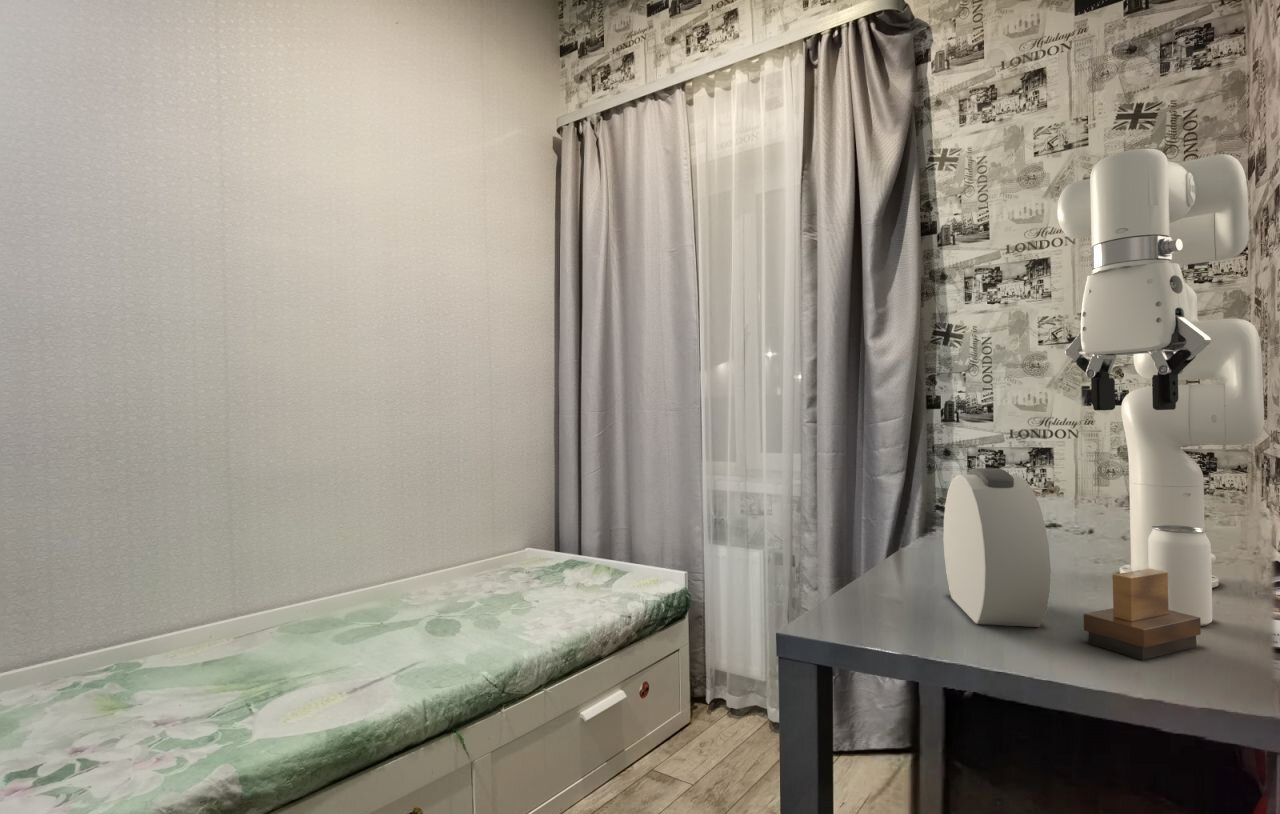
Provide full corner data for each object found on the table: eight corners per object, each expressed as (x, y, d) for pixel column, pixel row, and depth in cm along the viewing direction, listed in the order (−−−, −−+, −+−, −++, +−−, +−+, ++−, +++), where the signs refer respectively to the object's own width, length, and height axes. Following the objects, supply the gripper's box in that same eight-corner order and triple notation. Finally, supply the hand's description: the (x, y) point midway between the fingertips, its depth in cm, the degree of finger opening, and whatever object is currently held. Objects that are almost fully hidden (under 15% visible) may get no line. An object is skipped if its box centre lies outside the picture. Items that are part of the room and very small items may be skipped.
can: (1153, 608, 92) (1152, 522, 92) (1215, 618, 88) (1213, 527, 88) (1145, 619, 88) (1143, 528, 88) (1209, 630, 83) (1207, 534, 83)
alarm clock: (1052, 637, 81) (1049, 475, 81) (986, 634, 83) (983, 475, 83) (995, 591, 102) (993, 462, 102) (943, 589, 103) (941, 462, 104)
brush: (1139, 630, 83) (1138, 563, 83) (1201, 647, 77) (1199, 574, 77) (1084, 642, 79) (1082, 571, 79) (1144, 661, 73) (1142, 584, 73)
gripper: (1235, 244, 73) (1239, 408, 72) (1078, 275, 88) (1081, 409, 88) (1195, 238, 70) (1199, 410, 70) (1039, 271, 85) (1042, 411, 85)
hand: (1133, 408), depth 79 cm, fingers open, 6 cm apart
